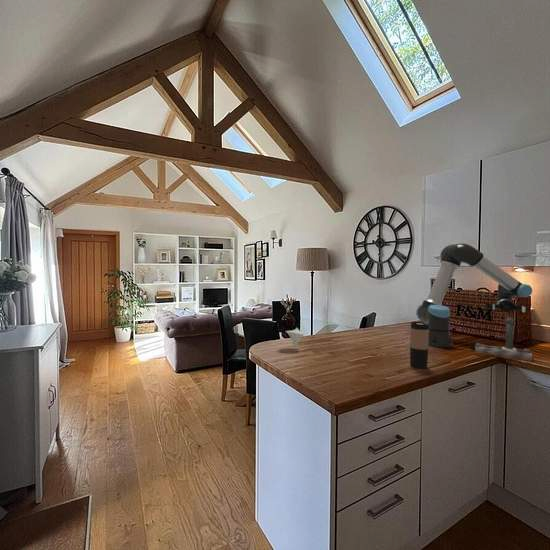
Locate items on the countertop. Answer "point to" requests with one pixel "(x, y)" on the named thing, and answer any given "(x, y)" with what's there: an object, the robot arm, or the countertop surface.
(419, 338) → the travel mug
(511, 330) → the slider
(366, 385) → the countertop surface
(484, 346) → the rail base
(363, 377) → the countertop surface
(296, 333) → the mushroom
